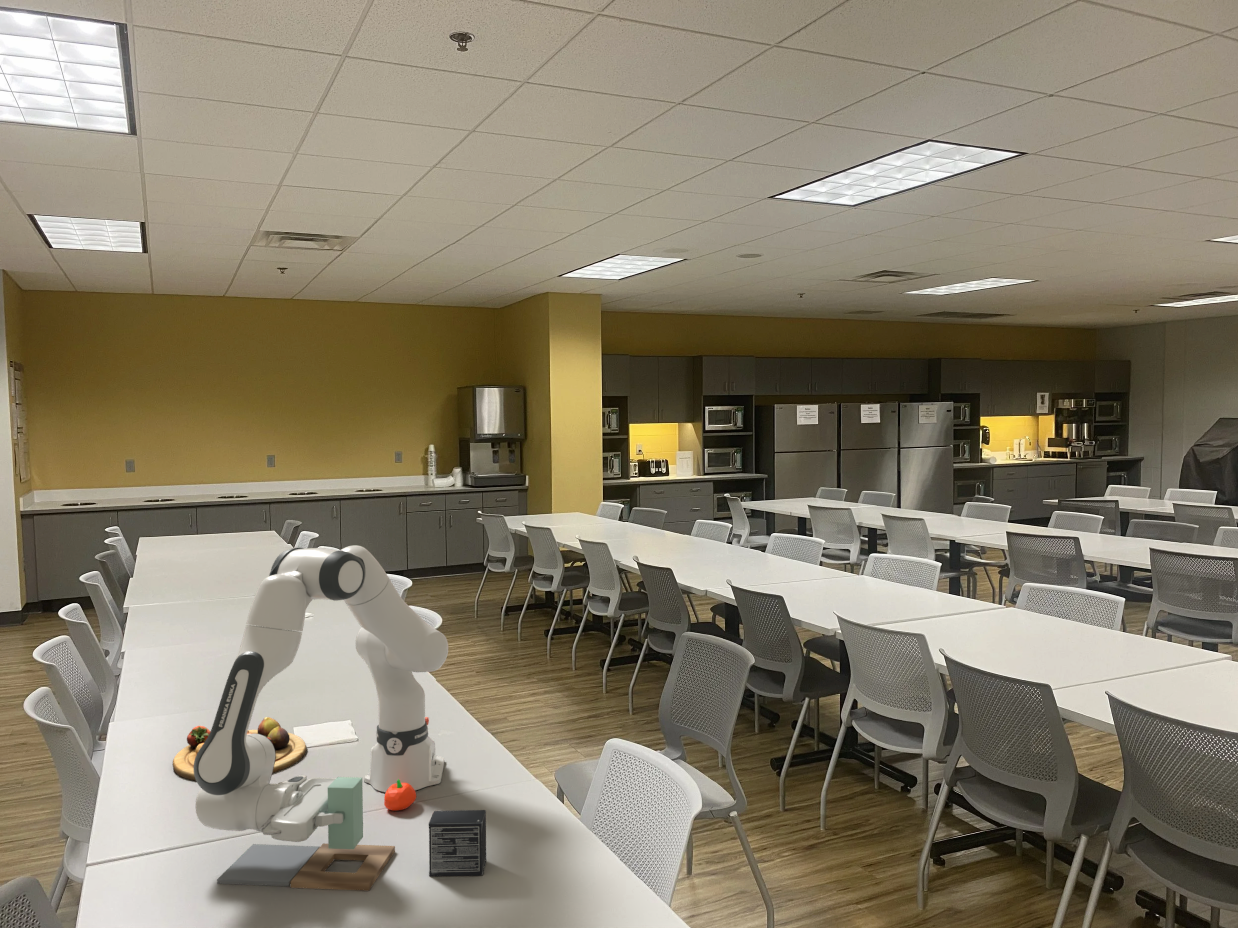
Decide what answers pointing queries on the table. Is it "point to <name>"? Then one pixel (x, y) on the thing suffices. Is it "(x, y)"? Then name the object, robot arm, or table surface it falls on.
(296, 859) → the rubber mat
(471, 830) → the small box
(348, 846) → the green block
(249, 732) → the wooden plate with food
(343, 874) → the pocket board
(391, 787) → the pumpkin
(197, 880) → the table surface
